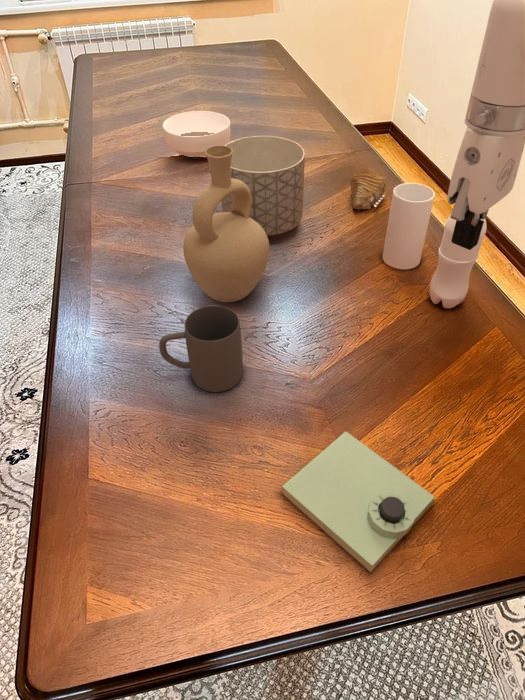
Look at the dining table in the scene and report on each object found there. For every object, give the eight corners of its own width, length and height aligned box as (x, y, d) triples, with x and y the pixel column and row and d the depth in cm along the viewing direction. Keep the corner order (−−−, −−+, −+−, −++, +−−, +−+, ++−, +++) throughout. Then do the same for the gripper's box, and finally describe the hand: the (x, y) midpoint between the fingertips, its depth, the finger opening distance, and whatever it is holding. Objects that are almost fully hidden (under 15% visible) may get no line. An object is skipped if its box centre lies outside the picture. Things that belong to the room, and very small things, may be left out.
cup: (388, 245, 123) (399, 179, 112) (424, 253, 121) (439, 187, 110) (377, 263, 118) (388, 197, 107) (414, 273, 115) (429, 205, 104)
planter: (272, 199, 140) (272, 129, 127) (317, 230, 128) (322, 156, 116) (209, 221, 132) (202, 149, 120) (251, 256, 121) (249, 180, 108)
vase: (235, 328, 103) (225, 182, 83) (172, 297, 111) (149, 155, 90) (285, 286, 113) (288, 145, 92) (224, 259, 120) (214, 124, 99)
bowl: (192, 172, 152) (189, 142, 146) (153, 151, 163) (149, 122, 157) (245, 151, 161) (244, 123, 155) (204, 133, 172) (202, 105, 166)
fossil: (381, 190, 142) (347, 186, 142) (387, 171, 138) (353, 167, 137) (386, 219, 135) (351, 215, 134) (393, 200, 130) (356, 196, 130)
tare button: (407, 512, 71) (409, 506, 70) (393, 527, 70) (395, 521, 69) (388, 498, 73) (390, 492, 72) (375, 512, 71) (376, 506, 70)
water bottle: (429, 286, 112) (457, 172, 95) (464, 293, 110) (500, 178, 93) (424, 307, 107) (453, 191, 90) (461, 314, 105) (499, 197, 88)
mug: (240, 353, 98) (237, 302, 90) (246, 390, 92) (243, 338, 83) (165, 361, 97) (155, 310, 89) (166, 399, 91) (154, 347, 82)
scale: (435, 506, 75) (440, 492, 73) (373, 575, 69) (377, 562, 66) (344, 438, 84) (346, 424, 82) (281, 493, 77) (282, 480, 75)
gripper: (500, 139, 58) (460, 277, 71) (558, 102, 66) (513, 233, 78) (438, 121, 62) (411, 255, 75) (500, 88, 70) (466, 215, 82)
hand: (463, 243), depth 77 cm, fingers closed
